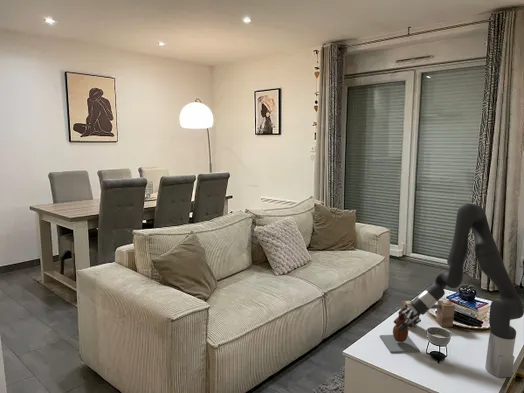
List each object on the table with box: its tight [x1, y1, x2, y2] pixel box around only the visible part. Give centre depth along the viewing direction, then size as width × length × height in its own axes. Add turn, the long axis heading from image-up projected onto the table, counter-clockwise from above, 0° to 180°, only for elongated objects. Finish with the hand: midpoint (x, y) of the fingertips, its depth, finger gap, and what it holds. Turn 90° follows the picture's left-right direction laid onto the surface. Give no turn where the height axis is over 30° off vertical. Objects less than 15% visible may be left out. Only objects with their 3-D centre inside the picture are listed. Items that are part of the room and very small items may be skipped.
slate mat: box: [379, 334, 421, 354], centre depth 186 cm, size 14×14×1 cm
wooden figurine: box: [392, 311, 409, 342], centre depth 184 cm, size 7×6×15 cm
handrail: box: [399, 299, 456, 329], centre depth 204 cm, size 6×26×13 cm, turn 94°
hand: (397, 326), depth 184 cm, fingers closed on wooden figurine, 5 cm apart
